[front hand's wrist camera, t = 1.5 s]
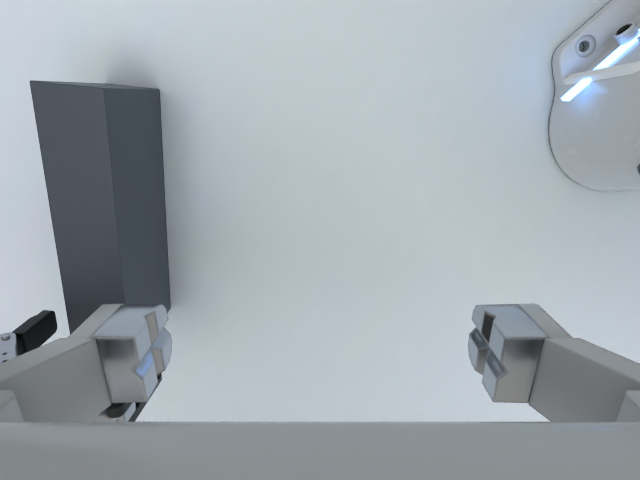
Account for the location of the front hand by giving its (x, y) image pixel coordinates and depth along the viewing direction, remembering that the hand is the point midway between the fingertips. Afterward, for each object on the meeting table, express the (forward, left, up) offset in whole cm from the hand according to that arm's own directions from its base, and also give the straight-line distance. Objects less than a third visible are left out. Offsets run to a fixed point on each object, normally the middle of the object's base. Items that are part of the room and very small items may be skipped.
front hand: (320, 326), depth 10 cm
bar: (+15, -12, -29) cm, 35 cm away
